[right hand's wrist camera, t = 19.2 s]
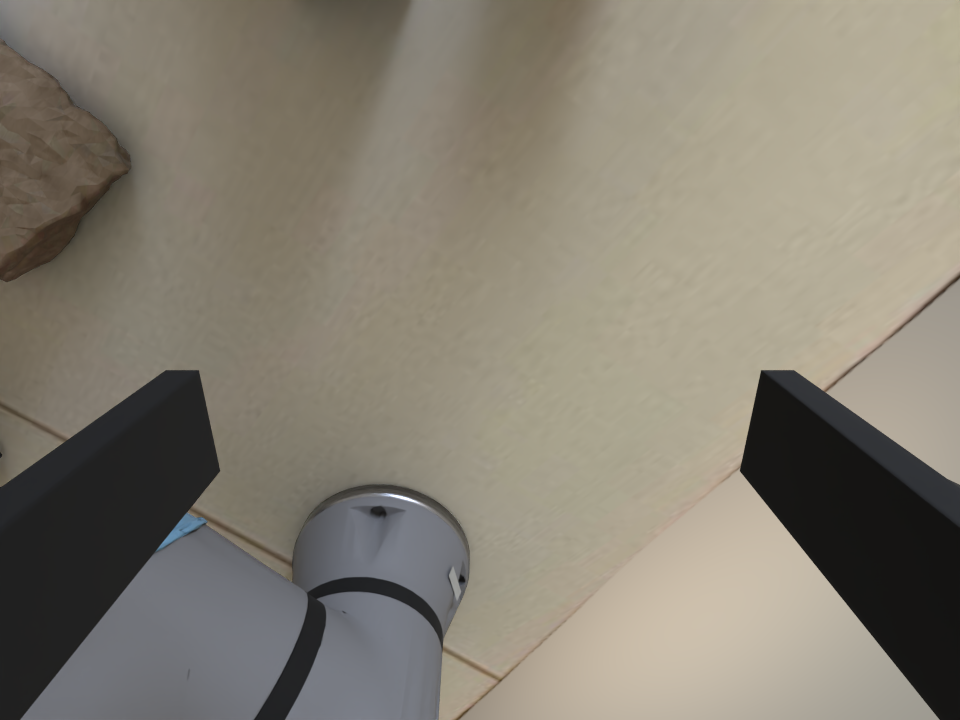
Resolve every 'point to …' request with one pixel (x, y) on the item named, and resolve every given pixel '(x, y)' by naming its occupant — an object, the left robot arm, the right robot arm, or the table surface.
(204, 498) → the table surface
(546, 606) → the table surface
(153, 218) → the table surface
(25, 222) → the stone
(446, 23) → the table surface
